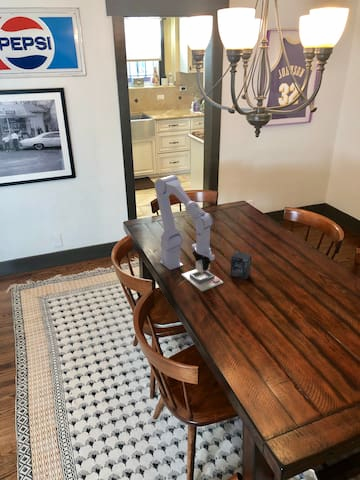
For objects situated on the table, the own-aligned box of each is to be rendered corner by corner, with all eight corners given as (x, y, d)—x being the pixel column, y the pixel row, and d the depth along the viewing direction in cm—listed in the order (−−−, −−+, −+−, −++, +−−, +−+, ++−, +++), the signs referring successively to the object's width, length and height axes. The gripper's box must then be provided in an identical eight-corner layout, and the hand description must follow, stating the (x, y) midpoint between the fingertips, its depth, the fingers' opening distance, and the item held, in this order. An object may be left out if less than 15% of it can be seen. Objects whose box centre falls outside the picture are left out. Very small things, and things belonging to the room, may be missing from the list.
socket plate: (181, 275, 172) (181, 271, 171) (202, 268, 178) (202, 264, 177) (201, 291, 160) (202, 286, 159) (223, 283, 166) (223, 278, 165)
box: (229, 275, 172) (231, 256, 167) (234, 270, 176) (235, 250, 172) (245, 280, 169) (247, 260, 164) (250, 274, 173) (251, 254, 168)
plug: (195, 271, 168) (195, 261, 166) (204, 268, 170) (204, 258, 168) (200, 275, 165) (201, 265, 163) (209, 271, 167) (210, 261, 165)
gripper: (220, 244, 157) (219, 272, 163) (200, 233, 168) (200, 259, 174) (207, 249, 154) (206, 276, 160) (187, 236, 165) (187, 263, 171)
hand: (202, 267), depth 167 cm, fingers closed on plug, 4 cm apart
